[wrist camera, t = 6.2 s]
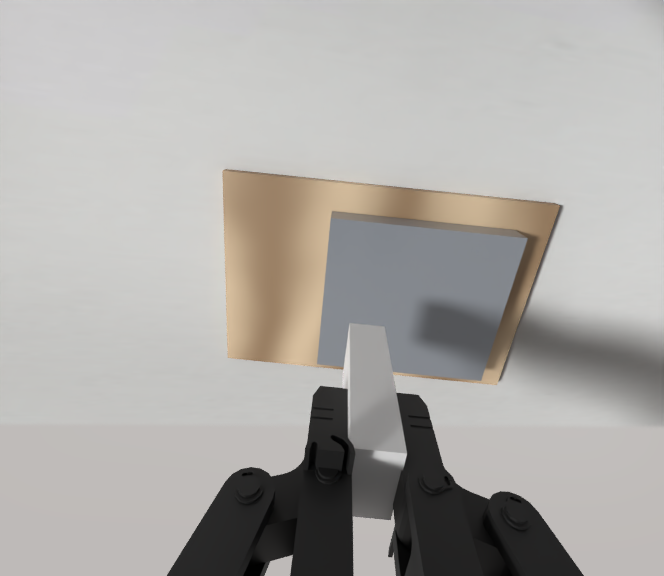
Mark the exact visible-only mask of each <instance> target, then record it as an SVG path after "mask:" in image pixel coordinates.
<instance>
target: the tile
mask: <svg viewBox="0 0 664 576" xmlns="http://www.w3.org/2000/svg"><path fill="white" fill-rule="evenodd" d="M527 239H528V238H526V237H525V236H523V235H522V234H520V233H519V232H517V231H516V230H512V229H502V228H492V227H483V226H473V225H463V224H454V223H444V222H434V221H424V220H415V219H405V218H395V217H386V216H376V215H366V214H356V213H347V212H337V211H332V213H331V220H330V231H329V242H328V252H327V263H326V273H325V284H324V295H323V305H322V316H321V326H320V337H319V348H318V358H317V364H319V365H329V366H339V367H344V361H345V354H346V346H347V339H348V331H349V324H350V323H354V324H364V325H374V326H384V327H385V332H386V337H387V343H388V349H389V354H390V360H391V365H392V371H393V372H398V373H408V374H418V375H428V376H437V377H447V378H457V379H467V380H477V381H481V380H482V376H483V373H484V370H485V367H486V364H487V361H488V358H489V355H490V352H491V349H492V346H493V343H494V340H495V337H496V334H497V331H498V328H499V325H500V322H501V319H502V316H503V313H504V309H505V306H506V303H507V300H508V297H509V294H510V291H511V288H512V285H513V282H514V279H515V276H516V273H517V270H518V267H519V264H520V261H521V258H522V255H523V252H524V249H525V246H526V242H527Z"/></svg>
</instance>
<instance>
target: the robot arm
mask: <svg viewBox="0 0 664 576" xmlns="http://www.w3.org/2000/svg"><path fill="white" fill-rule="evenodd" d="M393 510H394V519H395V527H394V531H393V535H392V539H391V543H390V547H389V555H388V557H392V556H393V552H394V560H395V569H396V576H584V575H583V574H582V573H581V571H580V570H579V568H578V567H577V566H576V564H575V563H574V561H573V560H572V559H571V558H570V556H569V554H568V553H567V552H566V550H565V549H564V547H563V546H562V545H561V543H560V542H559V540H558V539H557V538H556V537H555V535H554V533H553V532H552V531H551V529H550V528H549V526H548V525H547V524H546V522H545V521H544V519H543V518H542V517H541V515H540V514H539V512H538V511H537V510H536V509H535V508H534V507H533V506H532V505H531V504H530V503H529V502H528V501H526V500H525V499H524V498H522V497H521V496H519V495H516V494H513V493H510V492H501V491H500V492H498V493H495V494H493V495H492V497H491V498H490V500H489V499H487V498H484V497H482V496H479V495H477V494H474V493H472V492H469V491H467V490H465V489H463V488H462V487H460V486H459V485H457V484H456V483H455V481H454V479H453V477H452V476H451V475H450V474H449V473H448V472H447V471H446V470H445V468H444V466H443V463H442V459H441V456H440V452H439V448H438V445H437V442H436V438H435V434H434V430H433V427H432V423H431V420H430V416H429V412H428V408H427V405H426V404H425V403H424V402H423V400H422V399H421V398H420V397H419V395H413V394H403V393H396V388H395V382H394V377H393V371H392V365H391V360H390V354H389V349H388V343H387V337H386V332H385V327H384V326H374V325H364V324H354V323H350V324H349V331H348V339H347V346H346V354H345V361H344V369H343V388H335V387H325V386H320V387H319V388H318V390H317V391H316V392H315V394H314V395H313V401H312V409H311V417H310V425H309V433H308V441H307V445H306V448H305V457H304V460H303V461H302V463H301V464H300V465H299V466H298V467H297V468H296V469H294V470H292V471H291V472H288V473H285V474H282V475H277V476H272V477H271V476H270V475H269V473H267V472H266V471H264V470H262V469H260V468H252V467H250V468H245V469H241V470H239V471H237V472H235V473H233V474H232V475H231V476H230V477H229V478H228V480H227V481H226V482H225V483H224V485H223V487H222V488H221V490H220V491H219V493H218V494H217V496H216V498H215V499H214V501H213V502H212V504H211V506H210V507H209V509H208V510H207V512H206V514H205V515H204V517H203V519H202V520H201V522H200V523H199V525H198V526H197V528H196V530H195V531H194V533H193V534H192V536H191V538H190V539H189V541H188V542H187V544H186V546H185V547H184V549H183V550H182V552H181V554H180V555H179V557H178V559H177V560H176V562H175V563H174V565H173V567H172V568H171V570H170V571H169V573H168V575H167V576H264V575H265V573H266V570H267V568H268V565H269V563H270V561H272V560H275V559H279V558H283V557H287V556H290V555H293V559H292V567H291V575H290V576H353V520H352V516H355V517H365V518H375V519H385V520H391V516H392V512H393Z"/></svg>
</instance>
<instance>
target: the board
mask: <svg viewBox="0 0 664 576" xmlns="http://www.w3.org/2000/svg"><path fill="white" fill-rule="evenodd" d="M223 205H224V240H225V275H226V310H227V345H228V358H234V359H244V360H254V361H264V362H274V363H284V364H294V365H304V366H313V367H323V368H333V369H344V367H339V366H329V365H319V364H317V358H318V348H319V337H320V326H321V316H322V305H323V295H324V284H325V273H326V263H327V252H328V242H329V231H330V220H331V213H332V211H337V212H347V213H356V214H366V215H376V216H386V217H395V218H405V219H415V220H424V221H434V222H444V223H454V224H463V225H473V226H483V227H492V228H502V229H512V230H516V231H517V232H519V233H520V234H522V235H523V236H525V237H526V238H528V239H527V242H526V246H525V249H524V252H523V255H522V258H521V261H520V264H519V267H518V270H517V273H516V276H515V279H514V282H513V285H512V288H511V291H510V294H509V297H508V300H507V303H506V306H505V309H504V313H503V316H502V319H501V322H500V325H499V328H498V331H497V334H496V337H495V340H494V343H493V346H492V349H491V352H490V355H489V358H488V361H487V364H486V367H485V370H484V373H483V376H482V380H481V381H477V380H467V379H457V378H447V377H437V376H428V375H418V374H408V373H398V372H393V375H402V376H412V377H422V378H432V379H442V380H452V381H462V382H472V383H481V384H491V385H497V383H498V380H499V378H500V375H501V372H502V369H503V366H504V363H505V361H506V358H507V355H508V352H509V349H510V346H511V344H512V341H513V338H514V335H515V332H516V329H517V327H518V324H519V321H520V318H521V315H522V312H523V310H524V307H525V304H526V301H527V298H528V295H529V293H530V290H531V287H532V284H533V281H534V278H535V276H536V273H537V270H538V267H539V264H540V261H541V259H542V256H543V253H544V250H545V247H546V244H547V242H548V239H549V236H550V233H551V230H552V227H553V225H554V222H555V219H556V216H557V213H558V210H559V208H560V205H558V204H555V203H547V202H538V201H528V200H518V199H509V198H499V197H489V196H480V195H470V194H460V193H451V192H441V191H431V190H422V189H412V188H402V187H393V186H383V185H373V184H364V183H354V182H344V181H335V180H325V179H315V178H305V177H296V176H286V175H276V174H267V173H257V172H247V171H238V170H228V169H225V170H223Z"/></svg>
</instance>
